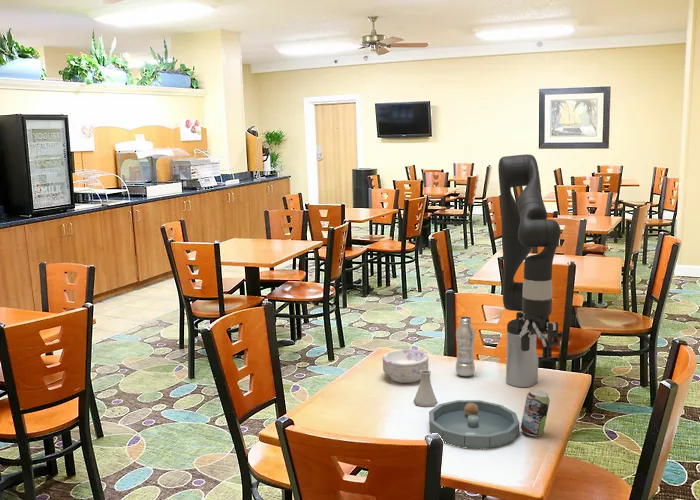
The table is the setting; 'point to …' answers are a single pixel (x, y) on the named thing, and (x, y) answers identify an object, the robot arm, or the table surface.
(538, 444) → the table surface
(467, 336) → the plastic bottle
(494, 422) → the tray
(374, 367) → the table surface
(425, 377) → the flask
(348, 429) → the table surface
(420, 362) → the paper bowls
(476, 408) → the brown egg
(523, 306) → the robot arm
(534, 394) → the beverage can
